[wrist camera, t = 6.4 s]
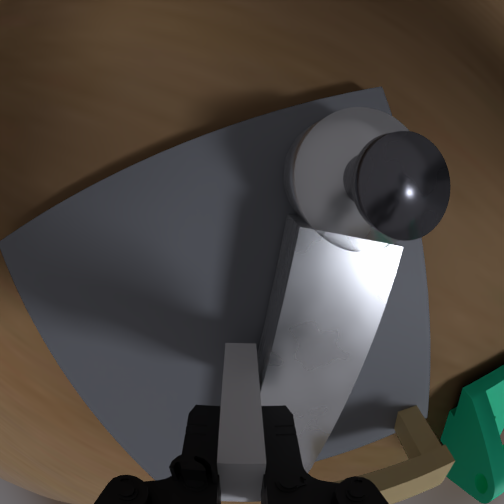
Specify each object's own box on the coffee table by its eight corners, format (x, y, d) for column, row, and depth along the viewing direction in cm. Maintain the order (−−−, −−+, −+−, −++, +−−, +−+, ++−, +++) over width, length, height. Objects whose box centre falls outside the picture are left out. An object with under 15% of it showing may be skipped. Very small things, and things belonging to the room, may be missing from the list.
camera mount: (486, 427, 21) (525, 484, 12) (432, 456, 22) (468, 524, 12) (515, 347, 18) (580, 407, 8) (456, 380, 18) (521, 463, 9)
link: (294, 107, 11) (333, 62, 6) (400, 137, 12) (485, 128, 6) (225, 454, 17) (222, 525, 11) (297, 458, 17) (309, 526, 12)
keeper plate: (369, 92, 13) (459, 49, 6) (419, 406, 19) (460, 473, 11) (12, 236, 14) (-73, 275, 7) (163, 472, 20) (149, 540, 13)
